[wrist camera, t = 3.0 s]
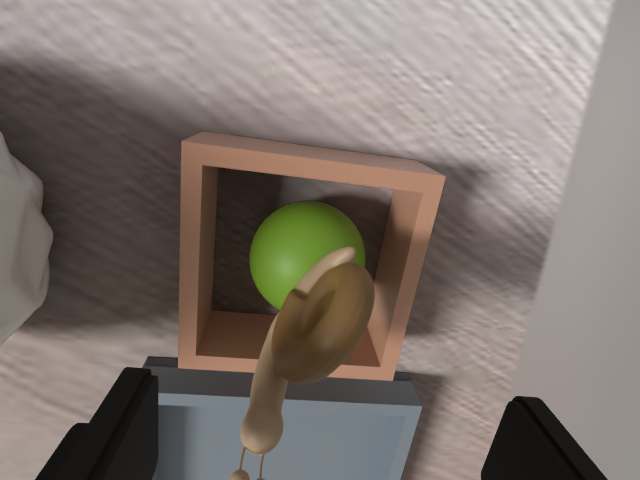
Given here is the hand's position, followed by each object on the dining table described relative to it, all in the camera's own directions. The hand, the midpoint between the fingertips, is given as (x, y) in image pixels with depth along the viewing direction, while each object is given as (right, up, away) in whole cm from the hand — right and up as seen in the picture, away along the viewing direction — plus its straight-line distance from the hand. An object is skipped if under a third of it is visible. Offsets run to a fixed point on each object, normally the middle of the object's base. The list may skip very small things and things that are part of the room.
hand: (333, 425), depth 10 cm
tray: (-4, -10, +16) cm, 19 cm away
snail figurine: (-1, +5, +11) cm, 12 cm away
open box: (-1, +5, +11) cm, 12 cm away
